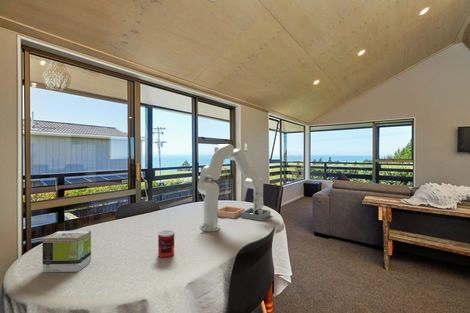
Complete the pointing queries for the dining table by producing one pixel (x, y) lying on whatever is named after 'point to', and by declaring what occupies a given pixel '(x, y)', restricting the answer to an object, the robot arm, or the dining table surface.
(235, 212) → the tub
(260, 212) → the stone block
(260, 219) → the bin
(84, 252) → the tea box
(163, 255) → the canned food
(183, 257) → the dining table surface
